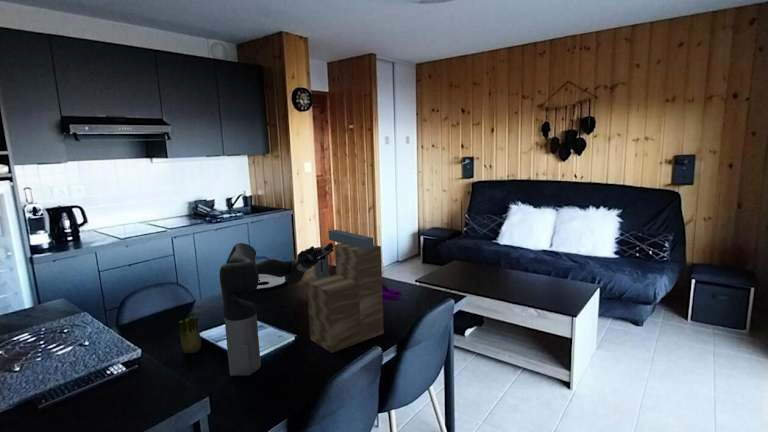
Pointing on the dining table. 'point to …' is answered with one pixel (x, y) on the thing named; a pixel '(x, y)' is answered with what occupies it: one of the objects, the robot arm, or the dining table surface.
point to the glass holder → (322, 267)
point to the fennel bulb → (190, 335)
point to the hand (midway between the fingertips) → (322, 246)
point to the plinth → (347, 299)
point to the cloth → (389, 294)
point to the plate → (272, 279)
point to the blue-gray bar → (351, 239)
